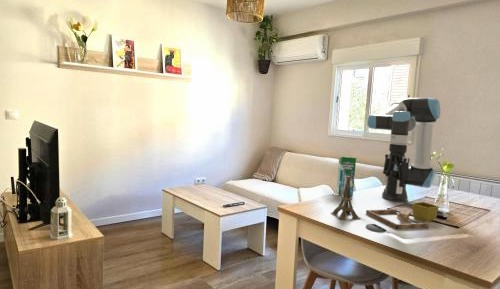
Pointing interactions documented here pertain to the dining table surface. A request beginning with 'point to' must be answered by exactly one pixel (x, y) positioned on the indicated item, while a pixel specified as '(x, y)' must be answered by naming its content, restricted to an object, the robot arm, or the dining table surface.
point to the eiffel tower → (346, 203)
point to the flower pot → (424, 211)
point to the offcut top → (405, 214)
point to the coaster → (375, 228)
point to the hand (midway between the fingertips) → (393, 191)
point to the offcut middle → (404, 219)
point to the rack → (396, 226)
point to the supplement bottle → (392, 183)
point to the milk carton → (345, 174)
